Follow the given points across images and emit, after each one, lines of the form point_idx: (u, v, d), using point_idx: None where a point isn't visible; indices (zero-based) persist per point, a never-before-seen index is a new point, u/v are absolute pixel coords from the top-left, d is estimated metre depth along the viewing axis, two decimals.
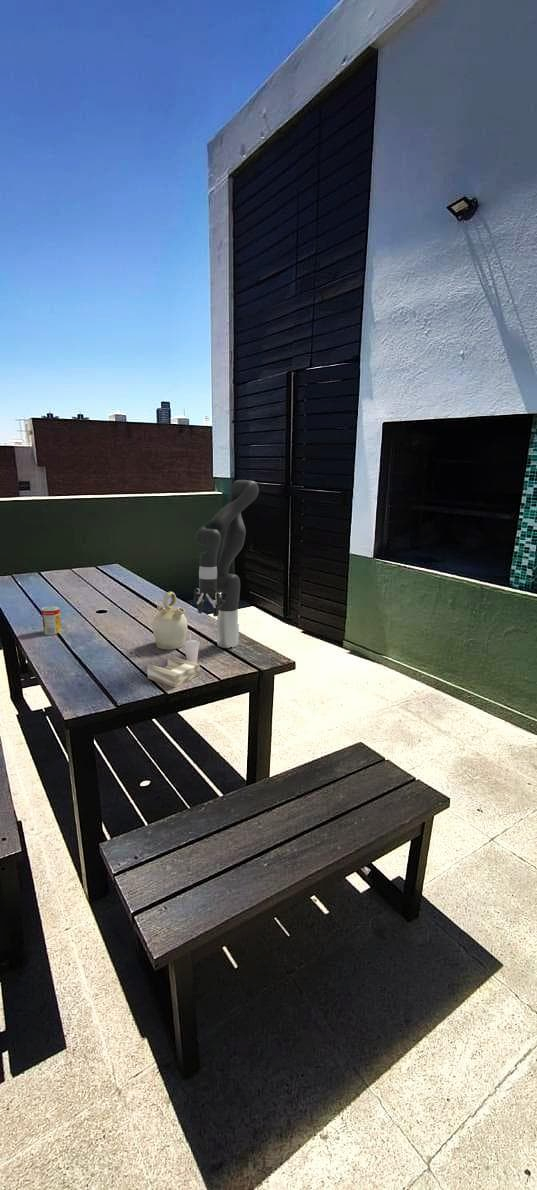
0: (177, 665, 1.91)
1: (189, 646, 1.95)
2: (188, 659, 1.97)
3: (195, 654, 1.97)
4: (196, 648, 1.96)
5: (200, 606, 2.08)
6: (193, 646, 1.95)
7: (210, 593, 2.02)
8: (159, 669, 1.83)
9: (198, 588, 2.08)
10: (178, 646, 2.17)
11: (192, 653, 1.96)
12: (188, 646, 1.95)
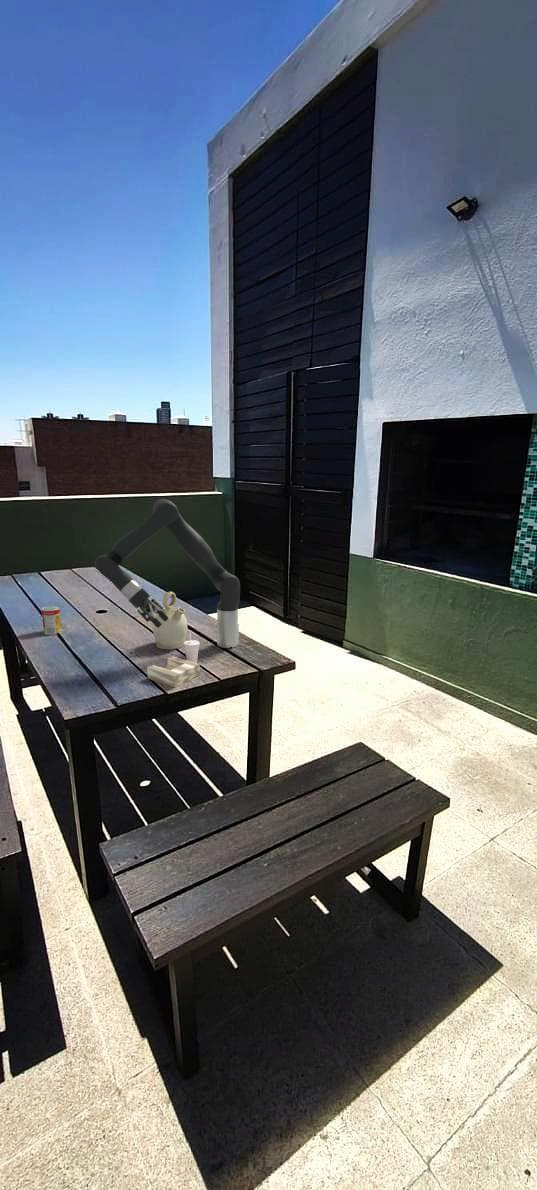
0: (177, 665, 1.91)
1: (189, 646, 1.95)
2: (188, 659, 1.97)
3: (195, 654, 1.97)
4: (196, 648, 1.96)
5: (160, 615, 2.00)
6: (193, 646, 1.95)
7: None
8: (159, 669, 1.83)
9: None
10: (178, 646, 2.17)
11: (192, 653, 1.96)
12: (188, 646, 1.95)
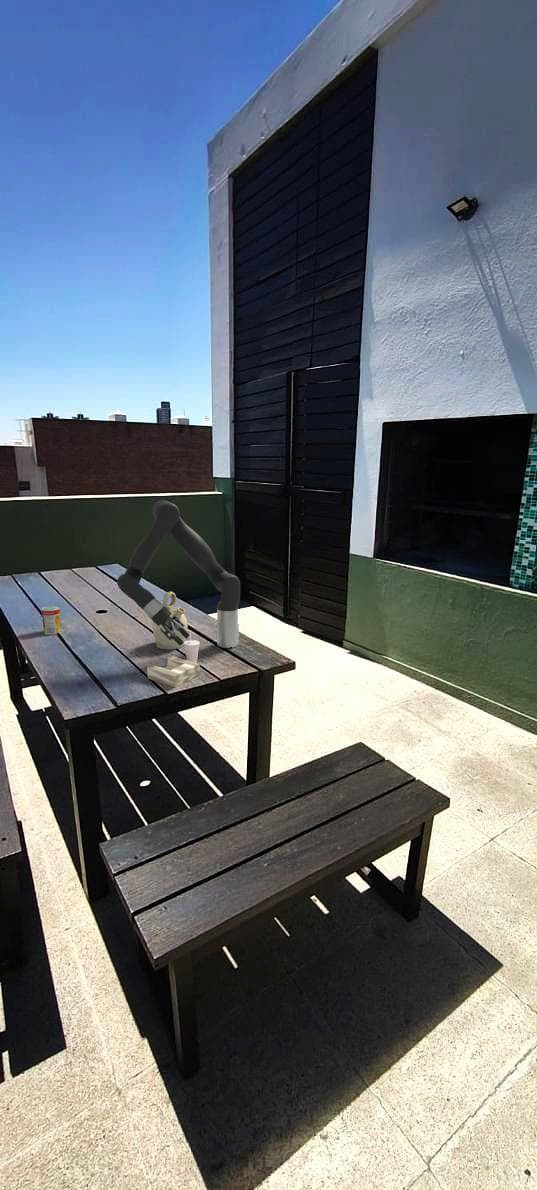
0: (177, 665, 1.91)
1: (189, 646, 1.95)
2: (188, 659, 1.97)
3: (195, 654, 1.97)
4: (196, 648, 1.96)
5: (182, 632, 2.01)
6: (193, 646, 1.95)
7: None
8: (159, 669, 1.83)
9: (172, 617, 2.02)
10: (178, 646, 2.17)
11: (192, 653, 1.96)
12: (188, 646, 1.95)
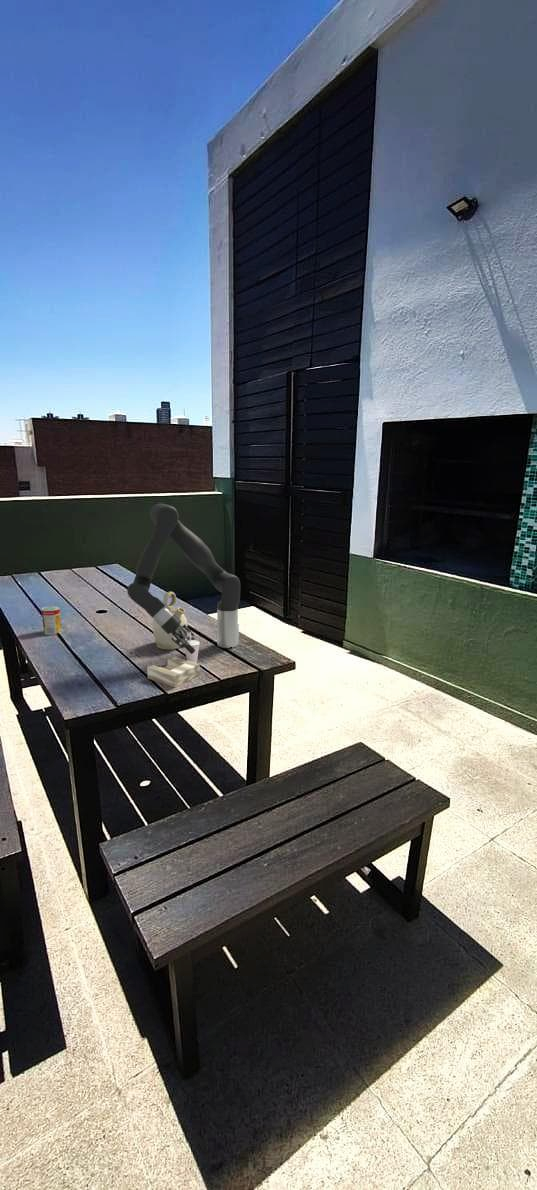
0: (177, 665, 1.91)
1: None
2: (188, 659, 1.97)
3: (195, 654, 1.97)
4: (196, 648, 1.96)
5: None
6: (193, 646, 1.95)
7: None
8: (159, 669, 1.83)
9: (183, 625, 2.02)
10: (178, 646, 2.17)
11: None
12: None
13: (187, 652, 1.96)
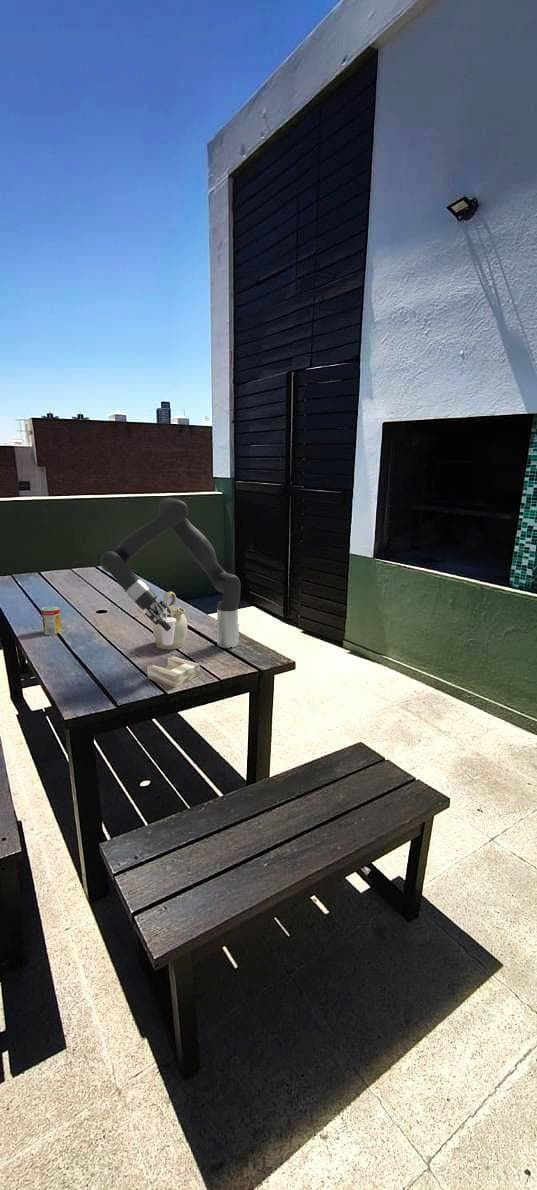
0: (177, 665, 1.91)
1: None
2: (163, 637, 1.84)
3: (170, 632, 1.83)
4: (172, 625, 1.83)
5: None
6: (169, 623, 1.82)
7: None
8: (159, 669, 1.83)
9: None
10: (178, 646, 2.17)
11: (167, 631, 1.83)
12: None
13: (162, 629, 1.83)
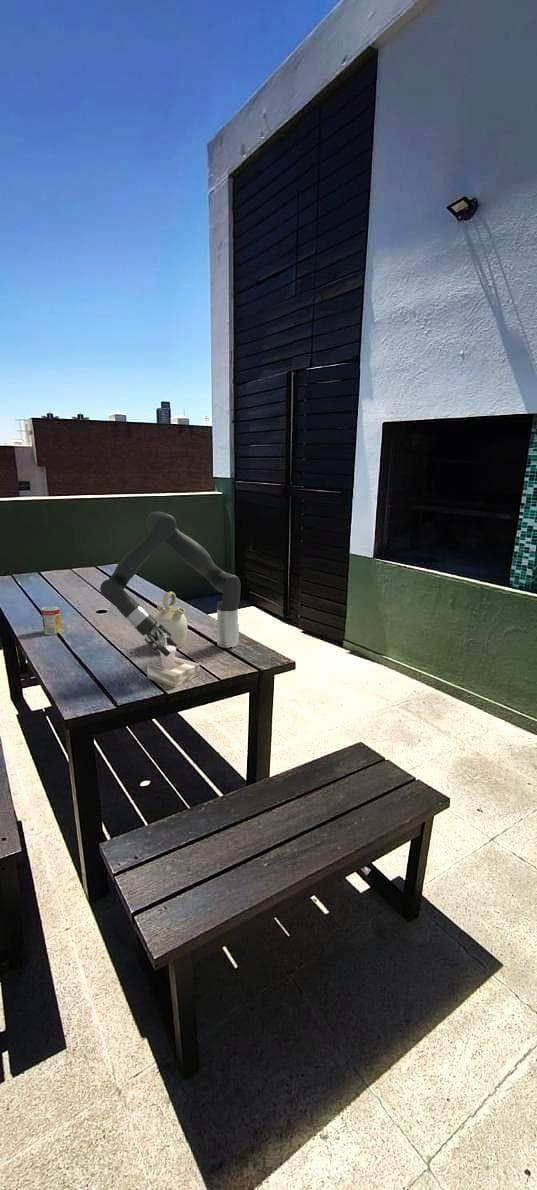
0: (177, 665, 1.91)
1: None
2: (164, 666, 1.86)
3: (170, 661, 1.86)
4: (172, 654, 1.85)
5: (169, 642, 1.90)
6: None
7: None
8: (159, 669, 1.83)
9: (159, 625, 1.91)
10: (178, 646, 2.17)
11: (167, 660, 1.85)
12: None
13: (162, 658, 1.85)
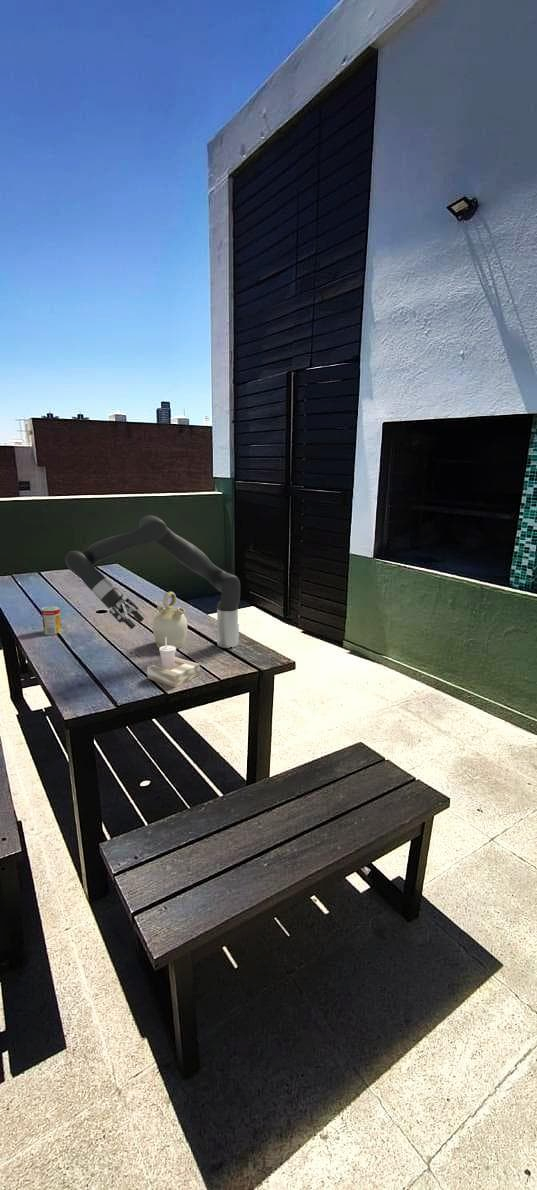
0: (177, 665, 1.91)
1: (164, 652, 1.84)
2: (164, 666, 1.86)
3: (171, 661, 1.86)
4: (172, 654, 1.85)
5: (135, 616, 1.89)
6: (169, 652, 1.84)
7: None
8: (159, 669, 1.83)
9: (126, 599, 1.90)
10: (178, 646, 2.17)
11: (167, 660, 1.85)
12: (163, 652, 1.84)
13: (162, 658, 1.85)
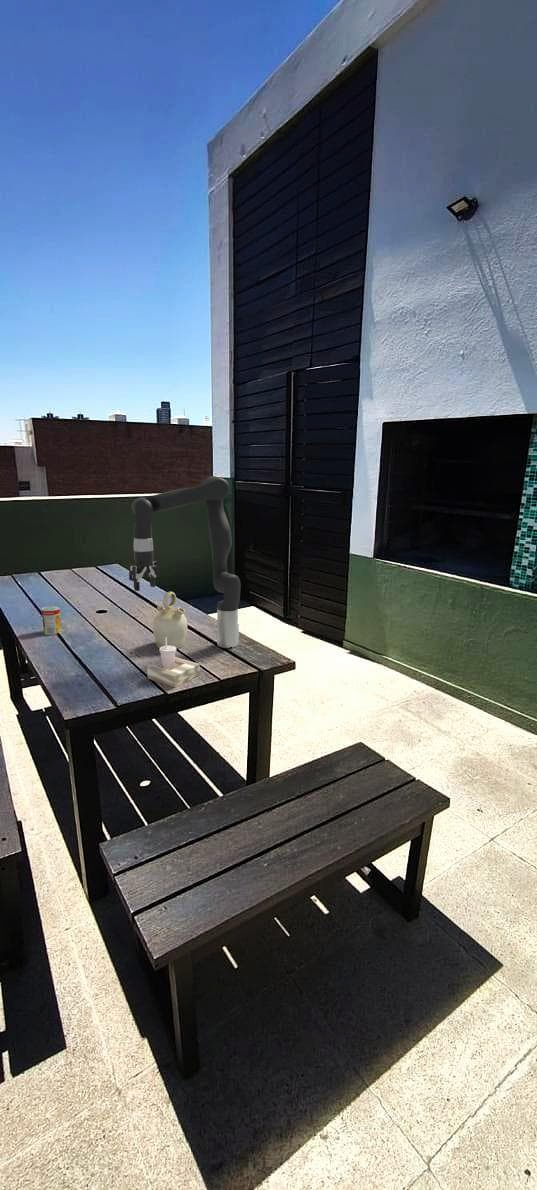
0: (177, 665, 1.91)
1: (165, 652, 1.84)
2: (164, 666, 1.86)
3: (171, 661, 1.86)
4: (172, 654, 1.85)
5: (151, 579, 2.01)
6: (169, 652, 1.84)
7: None
8: (159, 669, 1.83)
9: (155, 561, 2.00)
10: (178, 646, 2.17)
11: (168, 660, 1.85)
12: (164, 652, 1.84)
13: (163, 658, 1.85)
